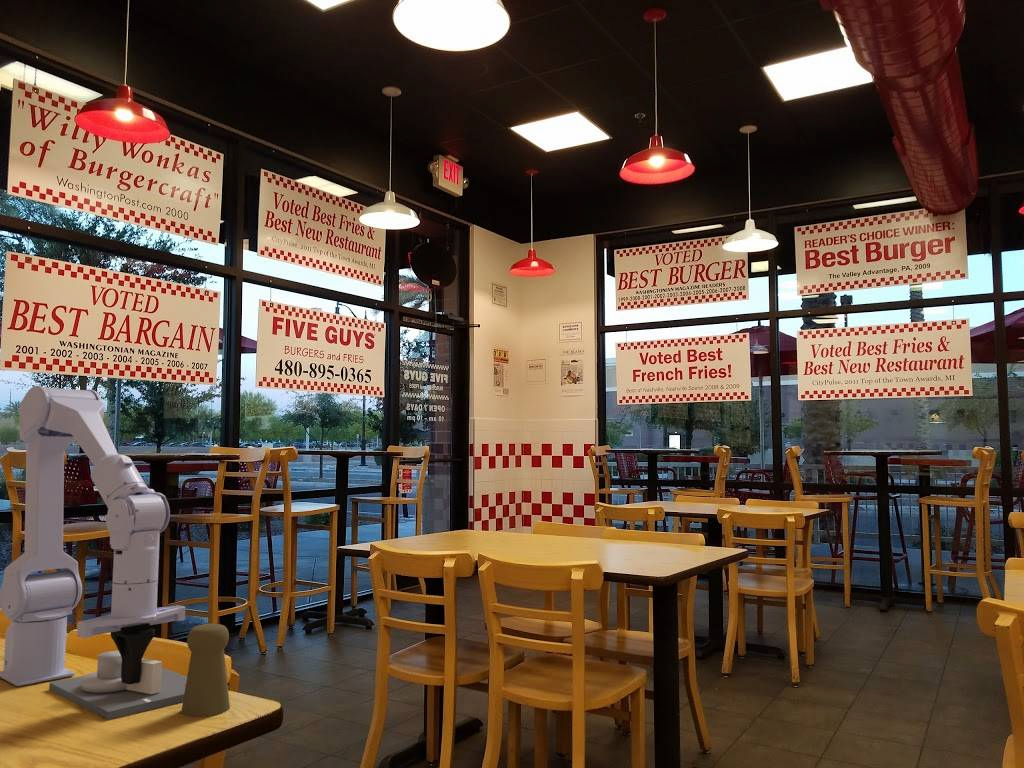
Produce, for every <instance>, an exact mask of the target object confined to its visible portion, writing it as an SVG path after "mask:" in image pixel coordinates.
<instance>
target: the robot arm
mask: <svg viewBox="0 0 1024 768" xmlns="http://www.w3.org/2000/svg"><path fill="white" fill-rule="evenodd" d="M105 409H106V404H105V403H104V402H103V399H102V397H101V395H100V394H99V392H98V391H96V390H94V389H85V390H84V389H73V388H58V387H57V388H56V387H47V386H46V387H44V386H43V385H42V386H41V385H34V386H32V387H31V388H30V389H29V390H27V392H26V393H25V395H24V397H23V398H22V400H21V401H20V404H19V439H20V440H21V441H22V442H23V443H25V444H26V445H25V446H26V447H25V448H26V449H25V452H26V453H25V456H26V457H25V502H24V503H25V509H24V510H25V512H24V515H25V516H24V553H23V554H22V555H20V556H18V557H17V558H16V559H15V560H14V561H13V562H11V563H10V564H8V565H7V566H6V567H5V568H4V571H3V579H2V585H1V587H0V610H1V612H2V613H3V614H4V615H5V617H6V618H7V620H10V621H11V622H10V624H9V625H8V627H7V629H6V631H5V636H4V637H5V638H4V654H3V655H4V656H3V657H4V658H3V670H1V671H0V678H1V679H2V680H4V681H6V682H8V683H10V684H12V685H14V686H16V687H20V686H26V685H33V684H36V683H43V682H47V681H53V680H58V679H62V678H68V677H73V676H74V675H76V673H75V671H74V670H70V669H69V668H66V667H65V664H66V645H67V629H68V628H67V627H68V625H67V624H68V616H69V615H72V614H73V610H74V609H75V608H76V607H77V605H78V604H79V602H80V601H81V598H82V594H83V584H82V579H81V577H80V573H79V563H78V561H77V560H76V559H74V558H73V556H71V555H69V554H68V553H66V552H65V551H64V497H65V496H64V492H65V491H64V489H65V488H64V486H65V484H64V482H65V476H64V475H65V473H64V472H65V471H64V470H65V451H66V449H67V448H68V446H70V445H71V444H72V443H75V442H76V443H77V444H78V446H79V447H80V448H81V449H82V450H83V451H82V452H84V454H85V455H86V457H88V459H89V460H90V462H91V463H92V465H93V468H92V469H91V472H90V479H91V481H92V482H93V484H94V486H95V488H96V489H97V492H99V493H98V494H99V495H100V496H101V498H102V500H103V501H104V504H105V505H106V507H107V514H105V524H106V527H107V530H108V531H107V532H108V533H109V545H110V548H111V549H112V550H113V565H112V567H113V568H112V584H111V585H112V589H111V607H110V609H111V611H110V614H106V615H102V616H98V617H94V618H89V619H86V620H80V621H77V625H76V626H77V627H76V628H77V629H76V637H77V638H82V639H87V638H92V637H93V636H99V635H104V634H108V633H110V637H111V639H112V640H113V642H114V644H115V646H116V648H117V651H119V653H120V655H121V658H122V663H121V680H122V683H126V684H129V685H131V684H134V683H139V682H140V677H141V661H142V658H143V657H144V655H145V653H146V651H147V649H148V646H149V645H150V643H151V642H152V640H153V638H154V637H155V635H156V633H155V631H156V630H155V628H153V627H150V626H153V625H154V626H155V625H158V624H164V623H169V622H170V623H171V622H181V621H185V620H186V606H183V605H171V606H162V607H158V585H159V565H160V564H159V560H160V536H161V534H162V533H163V532H164V531H165V530H166V529H167V527H168V525H169V522H170V518H171V515H170V514H171V509H170V505H169V502H168V500H167V497H166V495H164V494H163V493H161V492H156V491H155V490H154V488H149V486H147V484H146V482H145V481H144V479H143V477H142V475H141V474H140V473H139V471H138V469H137V467H136V466H135V463H134V462H133V461H132V459H131V457H129V456H127V455H125V454H118V451H117V449H116V446H115V445H114V443H113V440H112V438H111V435H110V434H109V432H108V429H107V427H106V424H105V423H104V421H103V420H104V417H105V416H104V415H105ZM49 570H53V571H50V572H48V571H49ZM42 571H47V572H42ZM34 572H41V573H35V574H34ZM32 573H33V574H32Z"/></svg>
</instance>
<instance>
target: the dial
mask: <svg viewBox="0 0 1024 768" xmlns="http://www.w3.org/2000/svg"><path fill="white" fill-rule="evenodd" d="M121 663H122V658H121V655H120V653H119V650H110V651H105V652H101V653H99V654H98V655H97V665H96V666H97V669H96V670H97V671H94V672H90V673H88V674H85V675H82V676H83V677H82V678H81V687H80V689H81V690H82V691H85V692H92V693H104V692H115V691H121V690H126V689H127V690H132V691H137V692H142V693H147V694H154V693H158V692H161V678H162V668H163V661H162V660H161V661H160V660H156V659H155V660H154V659H151V658H150V659H149V658H145V657H144V658H143V657H142V661H141V677H140V682H139V683H134V684H131V685H129V684H126V683H122V680H121Z"/></svg>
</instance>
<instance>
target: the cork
mask: <svg viewBox="0 0 1024 768" xmlns="http://www.w3.org/2000/svg"><path fill="white" fill-rule="evenodd" d="M186 639H187V640H186V642H187V644H186V645H187V647H188V649H189V650H190V658H189V664H188V669H187V675H186V677H187V681H186V687H185V693H184V699H183V702H182V706H181V711H180V714H181V715H182V716H185V717H190V718H207V717H213V716H217V715H221V714H224V713H226V712H227V710H228V709H229V710H230V708H231V703H230V694H229V687H228V676H227V666H226V657H225V656H226V655H225V649H226V647H227V645H228V643H229V639H230V634H229V629H228V628H227V627H226V626H225V625H223V624H218V623H204V624H200V625H196V626H193V627H192V628H190V631H189V632H188V635H187V638H186ZM229 710H228V711H229ZM225 711H226V712H225ZM223 712H224V713H223Z"/></svg>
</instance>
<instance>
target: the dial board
mask: <svg viewBox="0 0 1024 768" xmlns="http://www.w3.org/2000/svg"><path fill="white" fill-rule="evenodd" d="M83 676H84V675H82V676H77V677H71V678H66V679H61V680H55V681H50V682H49V686H48V687H49V688H48V690H49V691H51V692H53V693H54V694H57V695H59V696H60V697H62V698H64V699H66V700H68V701H70V702H72V703H74V704H76V705H78V706H79V707H81V708H83V709H86V710H88V711H89V712H92V713H94V714H95V715H97V716H100V717H102V718H103V719H106V720H107V721H108V720H109V721H110V720H114V719H117V718H122V717H125V716H130V715H134V714H139V713H143V712H146V711H151V710H155V709H159V708H163V707H168V706H172V705H176V704H180V703H183V699H184V693H185V687H186V681H187V675H183V674H182V673H181V674H180V673H178V672H176V671H173V670H170V669H167V668H165V667H162V678H161V692H158V693H154V694H147V693H142V692H137V691H132V690H127V689H126V690H121V691H115V692H104V693H92V692H85V691H82V690H81V689H80V687H81V678H82V677H83Z"/></svg>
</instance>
